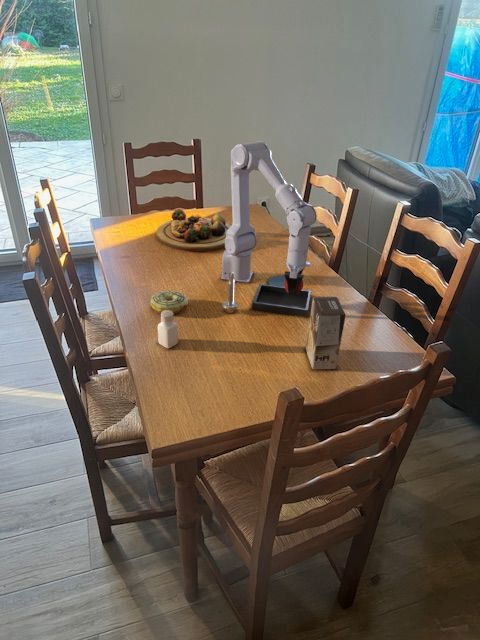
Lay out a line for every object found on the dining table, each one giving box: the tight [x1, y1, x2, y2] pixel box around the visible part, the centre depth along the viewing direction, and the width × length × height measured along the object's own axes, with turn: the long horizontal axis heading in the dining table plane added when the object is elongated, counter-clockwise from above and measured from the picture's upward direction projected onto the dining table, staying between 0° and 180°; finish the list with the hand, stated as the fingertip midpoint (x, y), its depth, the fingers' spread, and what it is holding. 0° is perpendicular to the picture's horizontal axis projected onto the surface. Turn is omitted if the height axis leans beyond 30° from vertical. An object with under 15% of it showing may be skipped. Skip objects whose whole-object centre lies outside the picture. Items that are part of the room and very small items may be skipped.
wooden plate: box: [155, 208, 232, 252], centre depth 186 cm, size 32×32×8 cm
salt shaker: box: [157, 310, 179, 349], centre depth 122 cm, size 4×4×10 cm
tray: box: [251, 283, 312, 318], centre depth 145 cm, size 17×13×2 cm
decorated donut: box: [150, 290, 189, 315], centre depth 139 cm, size 10×11×4 cm
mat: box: [267, 275, 285, 287], centre depth 156 cm, size 10×10×1 cm
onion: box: [284, 278, 304, 295], centre depth 141 cm, size 6×6×8 cm
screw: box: [221, 272, 239, 314], centre depth 136 cm, size 13×5×5 cm
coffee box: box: [305, 296, 347, 370], centre depth 117 cm, size 9×6×16 cm
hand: (293, 289), depth 142 cm, fingers closed on onion, 6 cm apart
